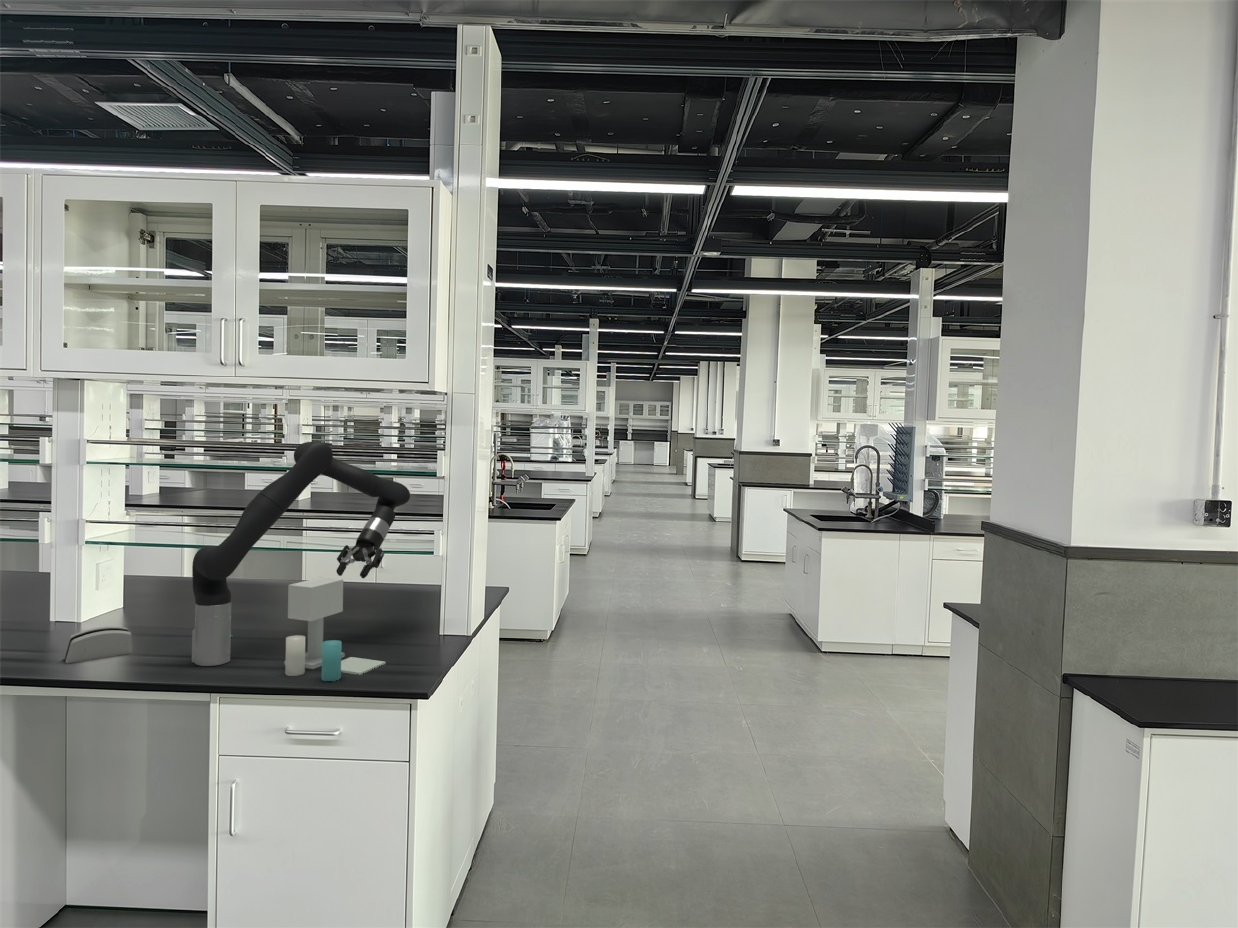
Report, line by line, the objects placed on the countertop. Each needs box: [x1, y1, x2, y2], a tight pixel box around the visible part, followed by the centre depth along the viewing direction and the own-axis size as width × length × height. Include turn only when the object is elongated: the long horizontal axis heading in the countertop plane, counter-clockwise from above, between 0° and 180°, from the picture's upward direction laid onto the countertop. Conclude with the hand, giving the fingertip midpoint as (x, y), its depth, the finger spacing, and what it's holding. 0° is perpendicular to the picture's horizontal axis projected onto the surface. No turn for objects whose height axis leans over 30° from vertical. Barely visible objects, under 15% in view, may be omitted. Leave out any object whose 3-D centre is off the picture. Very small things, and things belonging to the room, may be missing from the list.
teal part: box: [321, 639, 342, 682], centre depth 222 cm, size 5×5×10 cm
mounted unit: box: [283, 576, 346, 670], centre depth 238 cm, size 10×15×23 cm
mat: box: [341, 656, 387, 676], centre depth 234 cm, size 12×12×1 cm
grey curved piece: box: [63, 626, 133, 664], centre depth 235 cm, size 17×5×10 cm, turn 137°
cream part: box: [284, 634, 306, 677], centre depth 226 cm, size 5×5×10 cm
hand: (350, 575), depth 252 cm, fingers open, 8 cm apart
